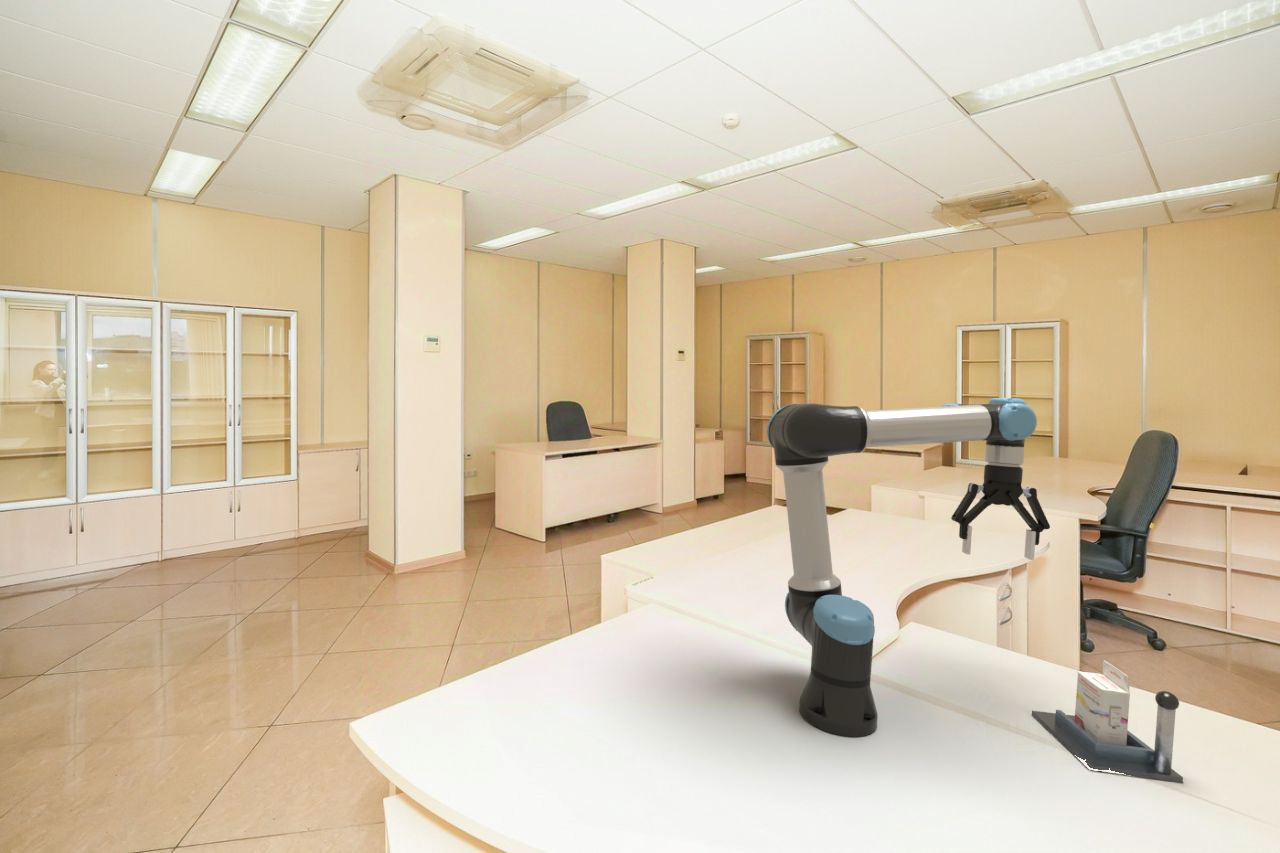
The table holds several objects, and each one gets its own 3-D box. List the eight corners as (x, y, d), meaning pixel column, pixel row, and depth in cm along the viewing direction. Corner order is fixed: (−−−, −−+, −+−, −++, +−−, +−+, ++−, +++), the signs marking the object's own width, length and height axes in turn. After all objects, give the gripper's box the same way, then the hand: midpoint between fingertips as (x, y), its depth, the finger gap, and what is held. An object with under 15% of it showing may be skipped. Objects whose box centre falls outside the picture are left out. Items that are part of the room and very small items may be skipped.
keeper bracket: (1089, 770, 104) (1095, 687, 104) (1031, 715, 124) (1036, 645, 124) (1182, 783, 102) (1189, 698, 102) (1108, 724, 122) (1113, 653, 122)
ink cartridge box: (1071, 727, 118) (1077, 655, 118) (1098, 730, 117) (1104, 658, 117) (1098, 750, 110) (1103, 673, 109) (1127, 754, 109) (1133, 677, 108)
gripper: (1053, 467, 136) (1046, 557, 136) (940, 460, 139) (934, 547, 140) (1072, 470, 128) (1065, 564, 129) (952, 462, 132) (946, 554, 132)
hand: (997, 556), depth 134 cm, fingers open, 13 cm apart
